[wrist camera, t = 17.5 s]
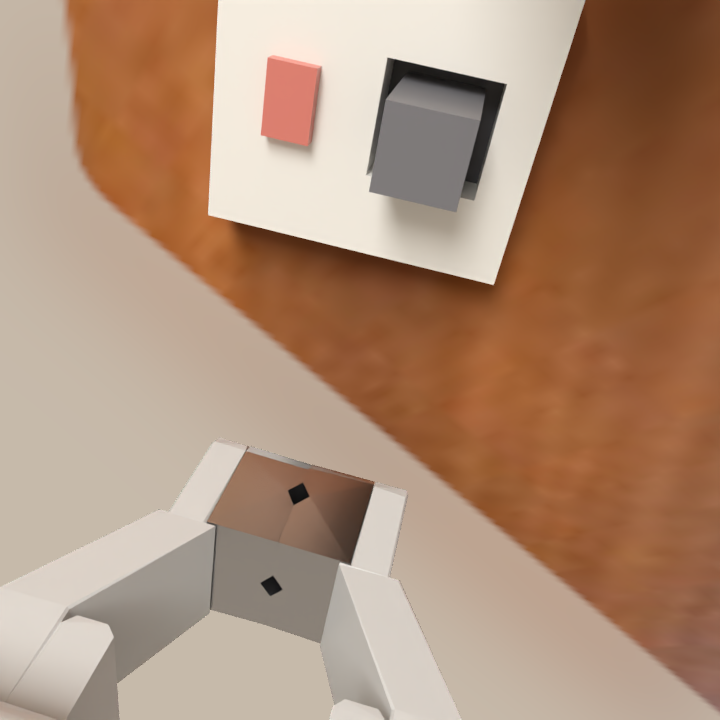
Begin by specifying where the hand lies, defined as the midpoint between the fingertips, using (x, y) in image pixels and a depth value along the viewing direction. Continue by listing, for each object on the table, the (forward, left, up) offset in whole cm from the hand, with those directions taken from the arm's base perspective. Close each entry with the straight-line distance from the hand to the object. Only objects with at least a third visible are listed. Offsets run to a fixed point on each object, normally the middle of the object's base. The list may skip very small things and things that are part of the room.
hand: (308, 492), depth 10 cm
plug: (+1, +1, -29) cm, 29 cm away
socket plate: (+4, +1, -29) cm, 29 cm away
